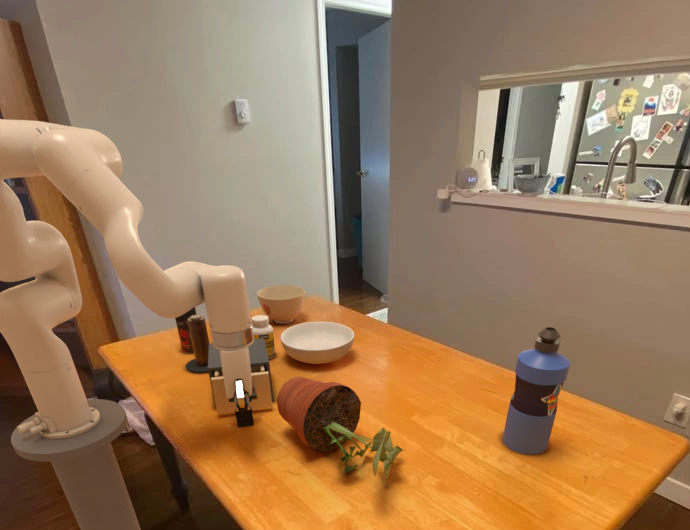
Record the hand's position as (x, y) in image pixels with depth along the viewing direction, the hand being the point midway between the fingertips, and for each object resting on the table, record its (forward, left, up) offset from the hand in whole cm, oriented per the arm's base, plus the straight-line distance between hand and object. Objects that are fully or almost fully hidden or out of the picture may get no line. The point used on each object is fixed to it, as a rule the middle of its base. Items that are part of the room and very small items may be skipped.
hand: (245, 413), depth 95 cm
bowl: (+57, +44, -6) cm, 72 cm away
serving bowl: (+41, +15, -6) cm, 44 cm away
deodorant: (+23, +49, -6) cm, 54 cm away
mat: (+18, +37, -6) cm, 41 cm away
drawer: (+9, +11, -5) cm, 15 cm away
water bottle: (+33, -48, -6) cm, 59 cm away
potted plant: (+7, -21, -6) cm, 23 cm away
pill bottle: (+32, +28, -6) cm, 42 cm away
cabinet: (+14, +17, -6) cm, 22 cm away
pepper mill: (+18, +37, -5) cm, 41 cm away
